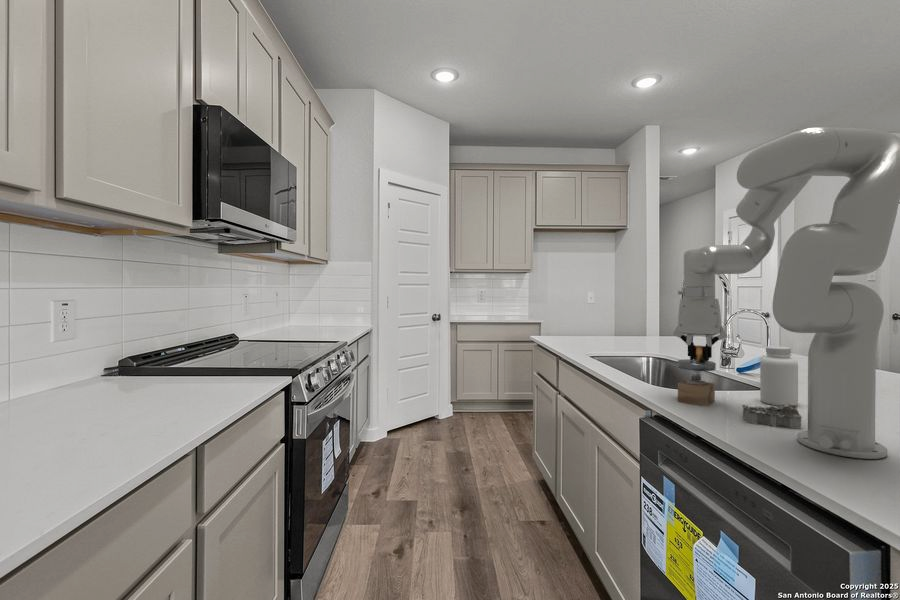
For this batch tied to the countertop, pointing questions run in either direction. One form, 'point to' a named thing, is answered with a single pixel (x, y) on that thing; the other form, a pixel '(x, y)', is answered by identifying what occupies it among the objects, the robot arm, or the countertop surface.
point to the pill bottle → (779, 377)
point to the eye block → (696, 392)
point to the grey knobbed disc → (697, 363)
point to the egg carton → (773, 415)
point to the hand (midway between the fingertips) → (699, 359)
